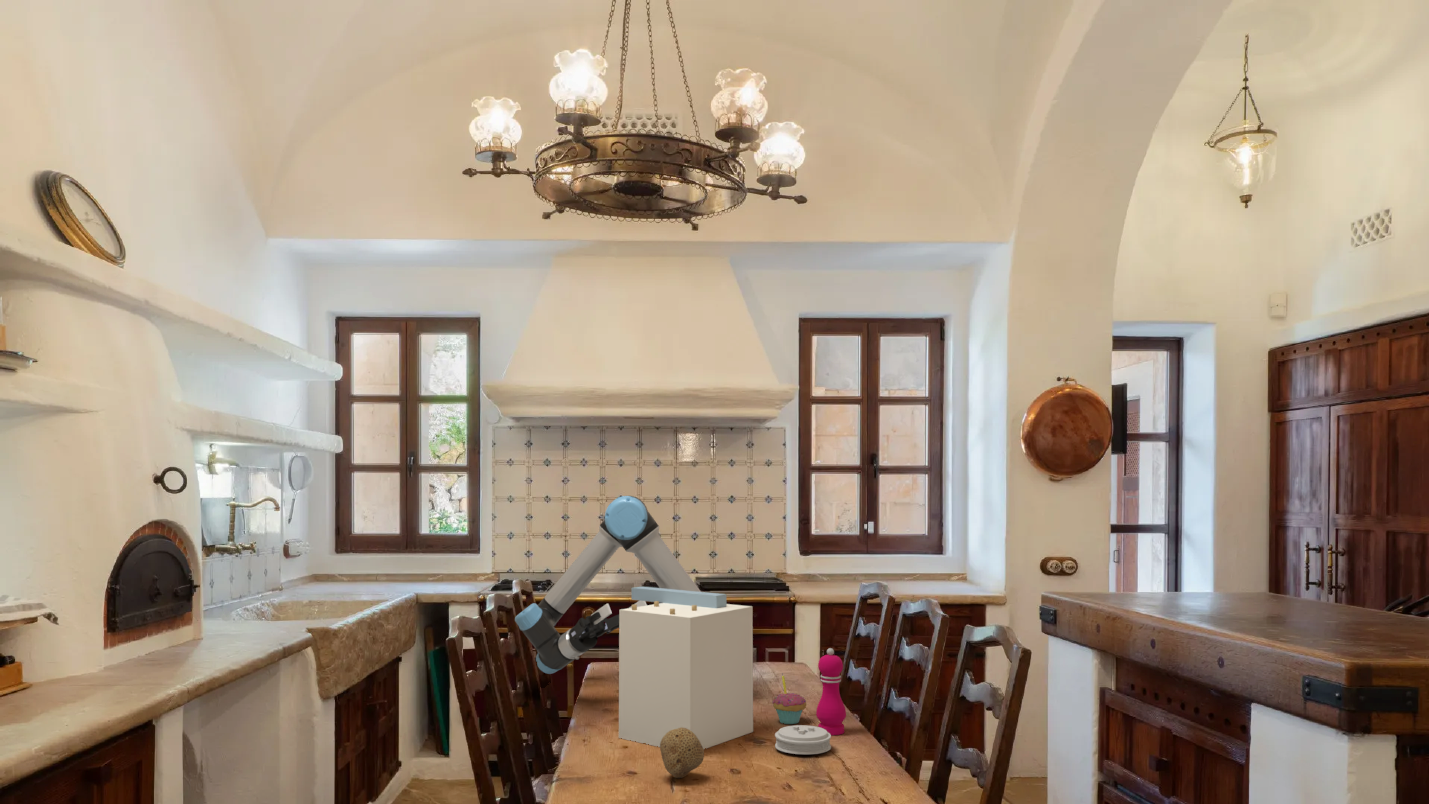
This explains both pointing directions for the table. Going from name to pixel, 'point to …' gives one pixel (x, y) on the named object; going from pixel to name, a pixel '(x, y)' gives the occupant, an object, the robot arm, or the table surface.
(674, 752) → the natural sponge
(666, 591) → the batten
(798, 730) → the lid
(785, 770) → the table surface
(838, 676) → the pepper mill
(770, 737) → the table surface
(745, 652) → the plinth
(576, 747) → the table surface
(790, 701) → the cupcake
